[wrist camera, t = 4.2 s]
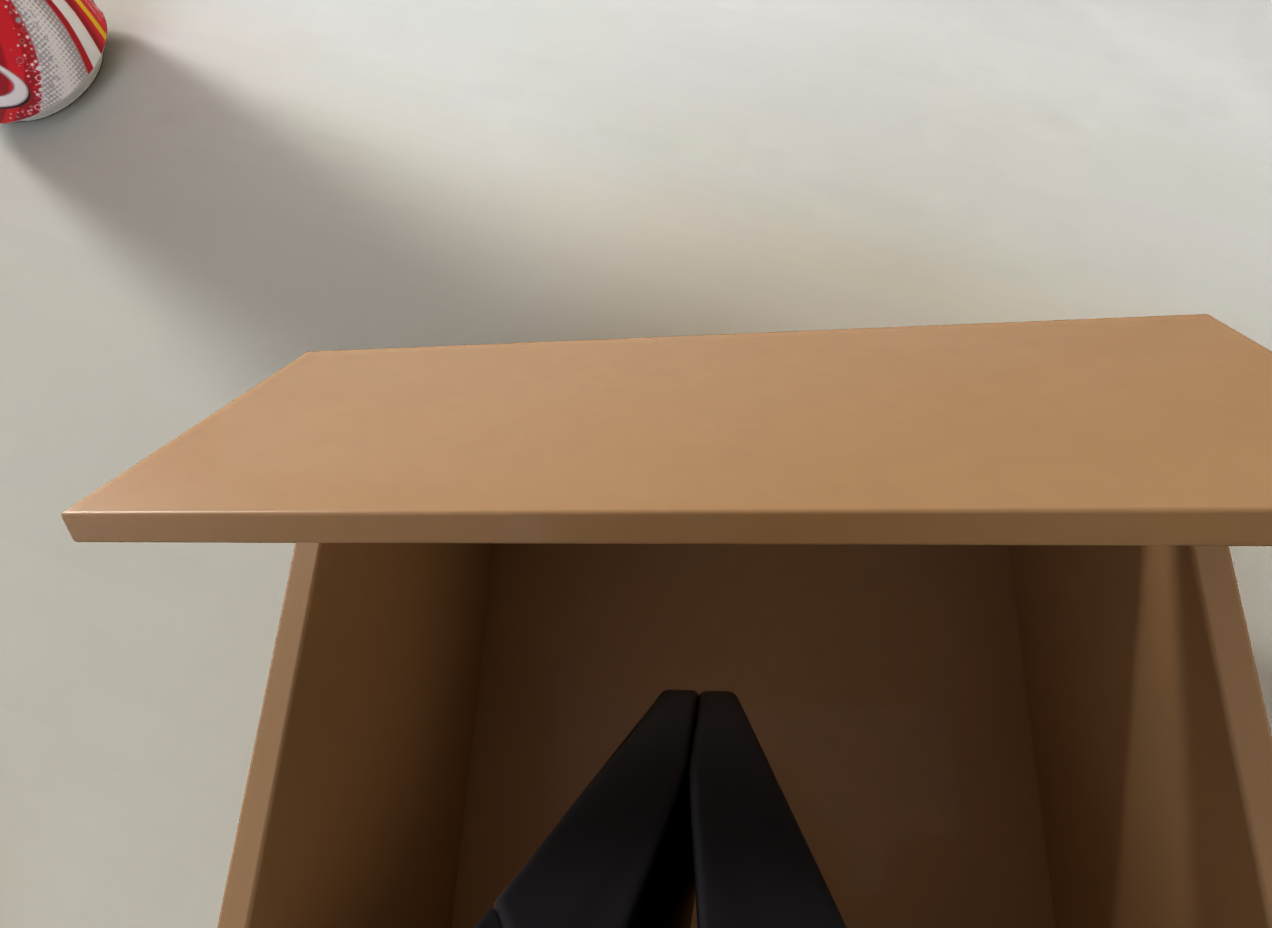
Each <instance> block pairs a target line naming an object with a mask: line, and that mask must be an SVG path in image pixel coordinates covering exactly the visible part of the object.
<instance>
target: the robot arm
mask: <svg viewBox="0 0 1272 928" xmlns="http://www.w3.org/2000/svg"><path fill="white" fill-rule="evenodd" d="M695 895H696V910H697V926H698V928H847V926H846V924H845V922H844V920H843V918H842V916H841V914H840V912H839V909H838V907H837V905H836V903H835V901H834V899H833V897H832V895H831V893H830V890H829V888H828V886H827V884H826V882H825V880H824V878H823V876H822V874H821V872H820V869H819V867H818V865H817V863H816V861H815V859H814V857H813V855H812V853H811V850H810V848H809V846H808V844H807V842H806V840H805V838H804V836H803V834H802V831H801V829H800V827H799V825H798V823H797V821H796V819H795V817H794V815H793V813H792V810H791V808H790V806H789V804H788V802H787V800H786V798H785V796H784V794H783V791H782V789H781V787H780V785H779V783H778V781H777V779H776V777H775V775H774V772H773V770H772V768H771V766H770V764H769V762H768V760H767V758H766V756H765V754H764V751H763V749H762V747H761V745H760V743H759V741H758V739H757V737H756V735H755V732H754V730H753V728H752V726H751V724H750V722H749V720H748V718H747V716H746V713H745V711H744V709H743V707H742V705H741V703H740V701H739V699H738V697H737V696H736V694H735V693H733V692H730V691H703V692H702V693H701V694H700V696H699V694H698V693H697V692H696V691H694V690H674V689H668V690H665V691H663V692H662V693H661V694H660V695H659V697H658V698H657V699H656V700H655V702H654V703H653V704H652V705H651V707H650V708H649V709H648V710H647V712H646V713H645V714H644V715H643V717H642V718H641V719H640V720H639V722H638V723H637V724H636V725H635V727H634V728H633V729H632V730H631V732H630V733H629V734H628V735H627V737H626V738H625V739H624V740H623V742H622V743H621V744H620V745H619V747H618V748H617V749H616V750H615V752H614V753H613V754H612V755H611V757H610V758H609V759H608V760H607V762H606V763H605V764H604V765H603V767H602V768H601V769H600V770H599V772H598V773H597V774H596V775H595V777H594V778H593V779H592V780H591V782H590V783H589V784H588V785H587V787H586V788H585V789H584V790H583V792H582V793H581V794H580V795H579V797H578V798H577V799H576V800H575V802H574V803H573V804H572V806H571V807H570V808H569V809H568V811H567V812H566V813H565V814H564V816H563V817H562V818H561V819H560V821H559V822H558V823H557V824H556V826H555V827H554V828H553V829H552V831H551V832H550V833H549V834H548V836H547V837H546V838H545V839H544V841H543V842H542V843H541V844H540V846H539V847H538V848H537V849H536V851H535V852H534V853H533V854H532V856H531V857H530V858H529V859H528V861H527V862H526V863H525V864H524V866H523V867H522V868H521V869H520V871H519V872H518V873H517V874H516V876H515V877H514V878H513V879H512V881H511V882H510V883H509V884H508V886H507V887H506V888H505V889H504V891H503V892H502V893H501V894H500V896H499V897H498V898H497V899H496V901H495V902H494V907H495V909H494V908H489V909H488V910H487V911H486V912H485V914H484V915H483V916H482V918H481V919H480V920H479V921H478V923H477V924H476V925H475V926H474V928H691V922H692V916H693V909H694V902H695Z"/></svg>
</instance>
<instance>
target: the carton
mask: <svg viewBox="0 0 1272 928" xmlns="http://www.w3.org/2000/svg"><path fill="white" fill-rule="evenodd" d="M668 689H674V690H694V691H696V692H697V693H698V694H699V696H700V694H701V693H702V692H703V691H730V692H733V693H735V694H736V696H737V697H738V699H739V701H740V703H741V705H742V707H743V709H744V711H745V713H746V716H747V718H748V720H749V722H750V724H751V726H752V728H753V730H754V732H755V735H756V737H757V739H758V741H759V743H760V745H761V747H762V749H763V751H764V754H765V756H766V758H767V760H768V762H769V764H770V766H771V768H772V770H773V772H774V775H775V777H776V779H777V781H778V783H779V785H780V787H781V789H782V791H783V794H784V796H785V798H786V800H787V802H788V804H789V806H790V808H791V810H792V813H793V815H794V817H795V819H796V821H797V823H798V825H799V827H800V829H801V831H802V834H803V836H804V838H805V840H806V842H807V844H808V846H809V848H810V850H811V853H812V855H813V857H814V859H815V861H816V863H817V865H818V867H819V869H820V872H821V874H822V876H823V878H824V880H825V882H826V884H827V886H828V888H829V890H830V893H831V895H832V897H833V899H834V901H835V903H836V905H837V907H838V909H839V912H840V914H841V916H842V918H843V920H844V922H845V924H846V926H847V928H1272V737H1271V732H1270V728H1269V723H1268V719H1267V714H1266V710H1265V705H1264V701H1263V697H1262V692H1261V688H1260V683H1259V679H1258V674H1257V670H1256V665H1255V661H1254V657H1253V652H1252V648H1251V643H1250V639H1249V634H1248V630H1247V625H1246V621H1245V617H1244V612H1243V608H1242V603H1241V599H1240V594H1239V590H1238V585H1237V581H1236V577H1235V572H1234V568H1233V563H1232V559H1231V554H1230V550H1229V546H1092V545H805V544H519V543H295V548H294V553H293V558H292V563H291V568H290V573H289V578H288V583H287V588H286V593H285V598H284V602H283V607H282V612H281V617H280V622H279V627H278V632H277V637H276V642H275V647H274V652H273V657H272V661H271V666H270V671H269V676H268V681H267V686H266V691H265V696H264V701H263V706H262V711H261V716H260V721H259V725H258V730H257V735H256V740H255V745H254V750H253V755H252V760H251V765H250V770H249V775H248V780H247V785H246V789H245V794H244V799H243V804H242V809H241V814H240V819H239V824H238V829H237V834H236V839H235V844H234V849H233V853H232V858H231V863H230V868H229V873H228V878H227V883H226V888H225V893H224V898H223V903H222V908H221V913H220V917H219V922H218V927H217V928H474V926H475V925H476V924H477V923H478V921H479V920H480V919H481V918H482V916H483V915H484V914H485V912H486V911H487V910H488V909H489V908H494V909H495V907H494V902H495V901H496V899H497V898H498V897H499V896H500V894H501V893H502V892H503V891H504V889H505V888H506V887H507V886H508V884H509V883H510V882H511V881H512V879H513V878H514V877H515V876H516V874H517V873H518V872H519V871H520V869H521V868H522V867H523V866H524V864H525V863H526V862H527V861H528V859H529V858H530V857H531V856H532V854H533V853H534V852H535V851H536V849H537V848H538V847H539V846H540V844H541V843H542V842H543V841H544V839H545V838H546V837H547V836H548V834H549V833H550V832H551V831H552V829H553V828H554V827H555V826H556V824H557V823H558V822H559V821H560V819H561V818H562V817H563V816H564V814H565V813H566V812H567V811H568V809H569V808H570V807H571V806H572V804H573V803H574V802H575V800H576V799H577V798H578V797H579V795H580V794H581V793H582V792H583V790H584V789H585V788H586V787H587V785H588V784H589V783H590V782H591V780H592V779H593V778H594V777H595V775H596V774H597V773H598V772H599V770H600V769H601V768H602V767H603V765H604V764H605V763H606V762H607V760H608V759H609V758H610V757H611V755H612V754H613V753H614V752H615V750H616V749H617V748H618V747H619V745H620V744H621V743H622V742H623V740H624V739H625V738H626V737H627V735H628V734H629V733H630V732H631V730H632V729H633V728H634V727H635V725H636V724H637V723H638V722H639V720H640V719H641V718H642V717H643V715H644V714H645V713H646V712H647V710H648V709H649V708H650V707H651V705H652V704H653V703H654V702H655V700H656V699H657V698H658V697H659V695H660V694H661V693H662V692H663V691H665V690H668ZM691 928H698V926H697V910H696V895H695V902H694V909H693V916H692V922H691Z"/></svg>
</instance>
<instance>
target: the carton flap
mask: <svg viewBox="0 0 1272 928" xmlns="http://www.w3.org/2000/svg"><path fill="white" fill-rule="evenodd" d="M61 515H62V518H63V520H64V522H65V524H66V526H67V528H68V530H69V532H70V534H71V536H72V538H73V540H74V541H76V542H232V543H519V544H805V545H1092V546H1272V352H1271V351H1270V350H1268V349H1266V348H1265V347H1263V346H1261V345H1259V344H1258V343H1256V342H1254V341H1253V340H1251V339H1249V338H1248V337H1246V336H1244V335H1242V334H1241V333H1239V332H1237V331H1236V330H1234V329H1232V328H1230V327H1229V326H1227V325H1225V324H1224V323H1222V322H1220V321H1218V320H1217V319H1215V318H1213V317H1212V316H1210V315H1208V314H1197V315H1173V316H1149V317H1126V318H1102V319H1078V320H1054V321H1030V322H1006V323H982V324H958V325H935V326H911V327H887V328H863V329H839V330H815V331H791V332H768V333H744V334H720V335H696V336H672V337H648V338H624V339H600V340H577V341H553V342H529V343H505V344H481V345H457V346H433V347H409V348H386V349H362V350H338V351H314V352H306V353H305V354H303V355H302V356H300V357H299V358H297V359H296V360H294V361H293V362H291V363H290V364H288V365H287V366H285V367H284V368H282V369H280V370H279V371H277V372H276V373H274V374H273V375H271V376H270V377H268V378H267V379H265V380H264V381H262V382H261V383H259V384H258V385H256V386H255V387H253V388H251V389H250V390H248V391H247V392H245V393H244V394H242V395H241V396H239V397H238V398H236V399H235V400H233V401H232V402H230V403H229V404H227V405H226V406H224V407H222V408H221V409H219V410H218V411H216V412H215V413H213V414H212V415H210V416H209V417H207V418H206V419H204V420H203V421H201V422H200V423H198V424H197V425H195V426H193V427H192V428H190V429H189V430H187V431H186V432H184V433H183V434H181V435H180V436H178V437H177V438H175V439H174V440H172V441H171V442H169V443H168V444H166V445H164V446H163V447H161V448H160V449H158V450H157V451H155V452H154V453H152V454H151V455H149V456H148V457H146V458H145V459H143V460H142V461H140V462H139V463H137V464H136V465H134V466H132V467H131V468H129V469H128V470H126V471H125V472H123V473H122V474H120V475H119V476H117V477H116V478H114V479H113V480H111V481H110V482H108V483H107V484H105V485H103V486H102V487H100V488H99V489H97V490H96V491H94V492H93V493H91V494H90V495H88V496H87V497H85V498H84V499H82V500H81V501H79V502H78V503H76V504H74V505H73V506H71V507H70V508H68V509H67V510H65V511H64V512H63V513H62V514H61Z"/></svg>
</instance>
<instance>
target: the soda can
mask: <svg viewBox="0 0 1272 928" xmlns="http://www.w3.org/2000/svg"><path fill="white" fill-rule="evenodd" d="M106 39H107V25H106V20H105V17H104V15H103V13H102V12H101V10H100V9H99V8H98V7H97V5H96V4H95V3H94V1H93V0H0V123H11V122H16V121H31V120H36V119H40V118H44V117H47V116H49V115H52V114H54V113H56V112H58V111H60V110H61V109H63V108H65V107H67V106H68V105H69V104H71V103H72V102H74V101H75V100H76V99H77V98H78V97H79V96H81V95H82V94H83V92H84V91H85V90H86V89H87V88H88V87H89V86H90V84H91V83H92V82H93V80H94V79H95V77H96V75H97V74H98V71H99V69H100V66H101V63H102V56H103V51H104V48H105V44H106Z"/></svg>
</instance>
